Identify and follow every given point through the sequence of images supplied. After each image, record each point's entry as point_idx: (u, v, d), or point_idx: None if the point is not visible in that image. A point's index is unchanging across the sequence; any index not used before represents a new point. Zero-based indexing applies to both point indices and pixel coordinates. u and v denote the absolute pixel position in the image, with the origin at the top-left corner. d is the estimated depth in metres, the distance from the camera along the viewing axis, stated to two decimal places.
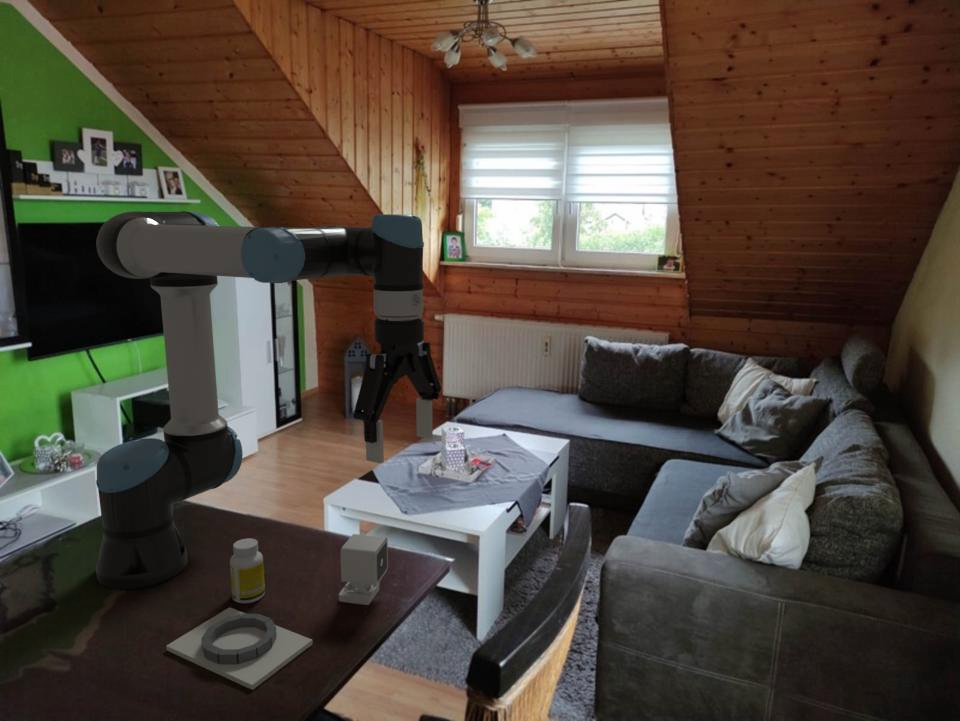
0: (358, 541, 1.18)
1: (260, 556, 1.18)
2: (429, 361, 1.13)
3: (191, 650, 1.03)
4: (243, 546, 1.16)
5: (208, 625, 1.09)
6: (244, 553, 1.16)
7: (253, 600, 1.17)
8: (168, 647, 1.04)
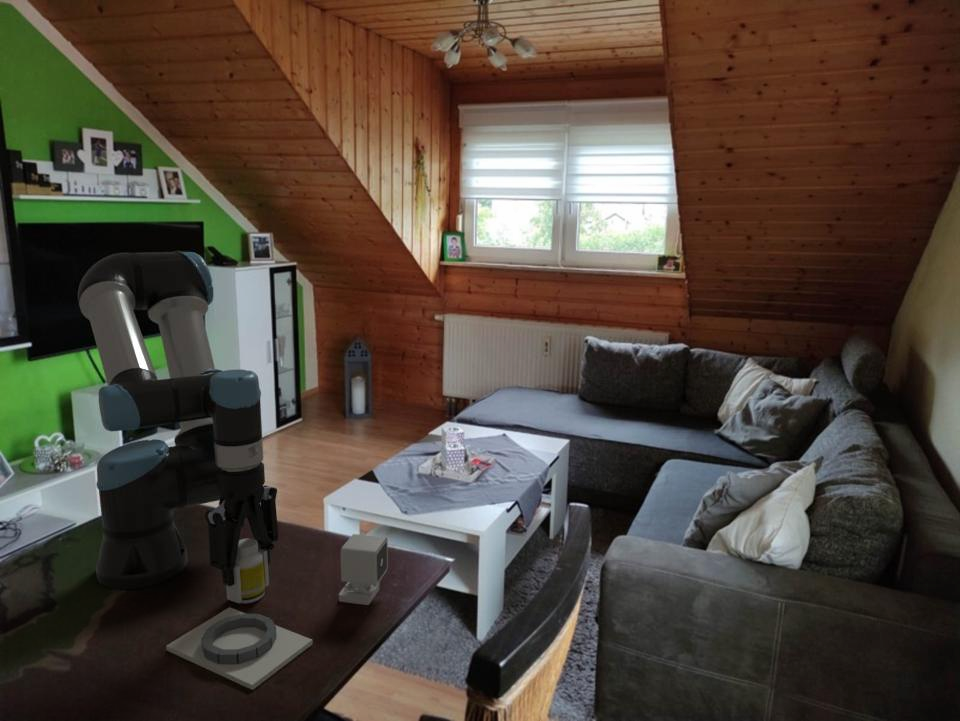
0: (358, 541, 1.18)
1: (260, 556, 1.18)
2: (272, 506, 1.20)
3: (191, 650, 1.03)
4: (243, 546, 1.16)
5: (208, 625, 1.09)
6: (244, 553, 1.16)
7: (253, 600, 1.17)
8: (168, 647, 1.04)
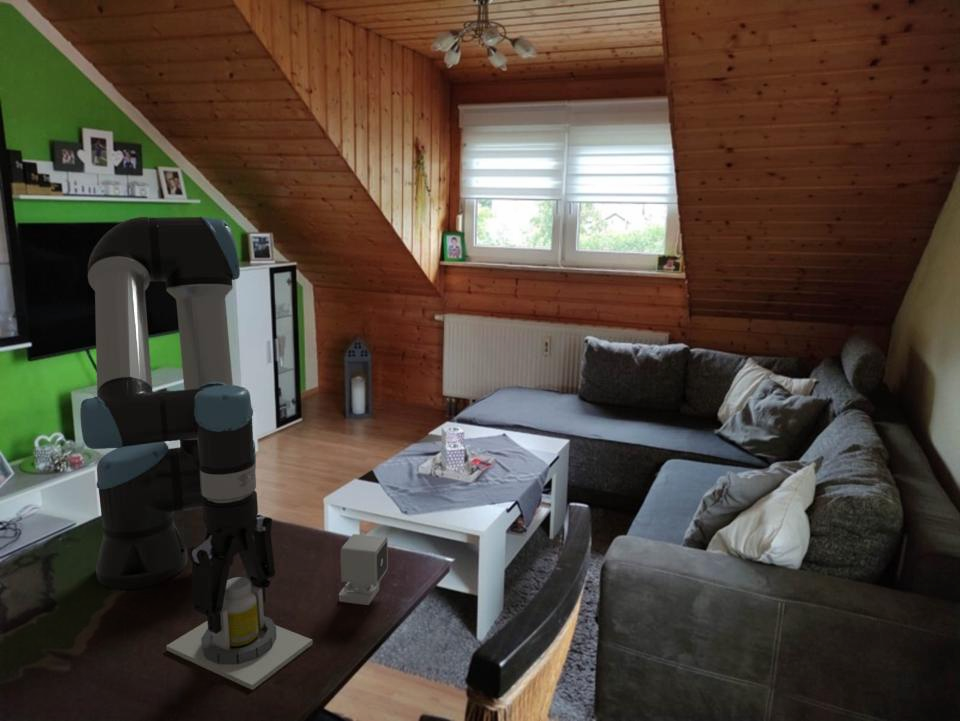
0: (358, 541, 1.18)
1: (253, 598, 1.04)
2: (267, 539, 1.06)
3: (191, 650, 1.03)
4: (233, 586, 1.02)
5: None
6: (234, 595, 1.01)
7: None
8: (168, 647, 1.04)
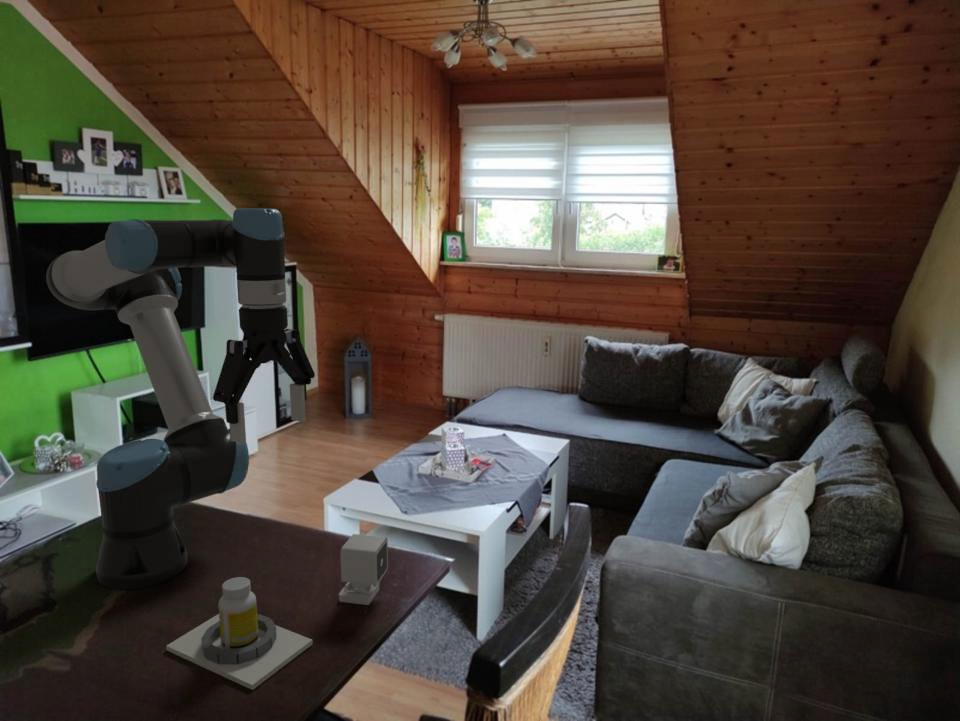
0: (358, 541, 1.18)
1: (253, 598, 1.04)
2: (299, 348, 1.19)
3: (191, 650, 1.03)
4: (233, 586, 1.02)
5: (208, 625, 1.09)
6: (234, 595, 1.01)
7: None
8: (168, 647, 1.04)
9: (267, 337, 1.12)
